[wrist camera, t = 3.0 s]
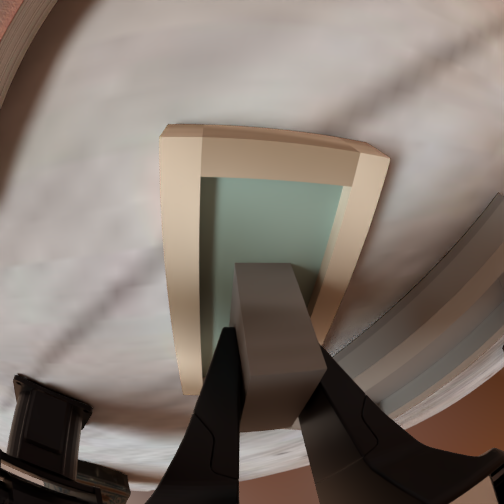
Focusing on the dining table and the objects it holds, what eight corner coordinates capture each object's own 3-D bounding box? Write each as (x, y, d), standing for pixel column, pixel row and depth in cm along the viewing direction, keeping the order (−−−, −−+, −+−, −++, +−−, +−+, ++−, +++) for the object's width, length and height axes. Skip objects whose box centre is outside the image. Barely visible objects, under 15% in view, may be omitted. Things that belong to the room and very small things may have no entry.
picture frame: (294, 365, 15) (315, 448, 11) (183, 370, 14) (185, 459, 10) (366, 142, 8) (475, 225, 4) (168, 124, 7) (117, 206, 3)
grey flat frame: (369, 412, 24) (375, 429, 22) (267, 402, 18) (271, 427, 17) (525, 281, 16) (537, 297, 14) (498, 192, 10) (524, 213, 9)
